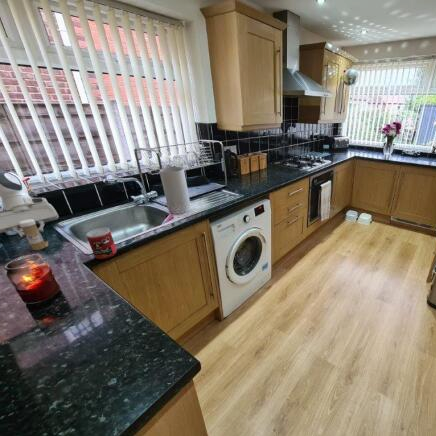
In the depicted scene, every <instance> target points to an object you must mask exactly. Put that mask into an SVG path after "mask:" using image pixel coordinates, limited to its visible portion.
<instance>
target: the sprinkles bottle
mask: <svg viewBox="0 0 436 436" xmlns="http://www.w3.org/2000/svg"><path fill="white" fill-rule="evenodd" d="M19 225H20V227H21V228H20V229H22V232H23V231H24V233H25V235H26V236H25V237H26V239H27V241H28V244H29V245H30V247H31V249H32V251H40V250H43V249H45V248H47V247H46V244H45V242H46V241H45V240H44V238H43V235H42V234H41V232H39V230H38V228H39V227H37V224H35V221H34V219H26V220H22V221H20V222H19Z"/></svg>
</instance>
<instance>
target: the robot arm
mask: <svg viewBox="0 0 436 436" xmlns="http://www.w3.org/2000/svg"><path fill="white" fill-rule="evenodd" d="M0 199H1V203H2V205H3V207H4V209H1V210H0V234H2V233H6V232H11V231H14V233H16V234H18V235H19V236H20V238H25V237H26V235H25V233H24V231H23V230H22V231H20V229H22V228H21V227H20V225H19V222H20V221H22V220H26V219H34V221H35V224H36V225H39V227H37V228H38V230H39V232H40V233H43V232H45V230H44V226H45V223H47V222H51V221H55V220H58V219H59V218H60V216H59V214H58V212H57V210H56V209H55V208H54V206H53V205H52V204H51V203H49V202H48V200H47V199H46V197H31V196H30V195H29V190H28V188H27V186H26V184H25V182H24V181H23V180H22V179H21V177H20V176H19V175H18V174H16V173H15V172H11V171H6V170H2V169H0Z"/></svg>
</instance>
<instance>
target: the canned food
mask: <svg viewBox="0 0 436 436" xmlns="http://www.w3.org/2000/svg"><path fill="white" fill-rule="evenodd" d="M85 237H86V238H87V241H88V244H89V246H90V248H91V251H92V254H93V256H94V257H95V258H96V259H97V260H106V259H109V258H111V257H113V256H115V255H116V254H117V247H116V244H115V242H114V238H113V236H112V233H111V230H110V228H109V227H99V228H94V229H92V230H90V231H88V232H86V234H85Z"/></svg>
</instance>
